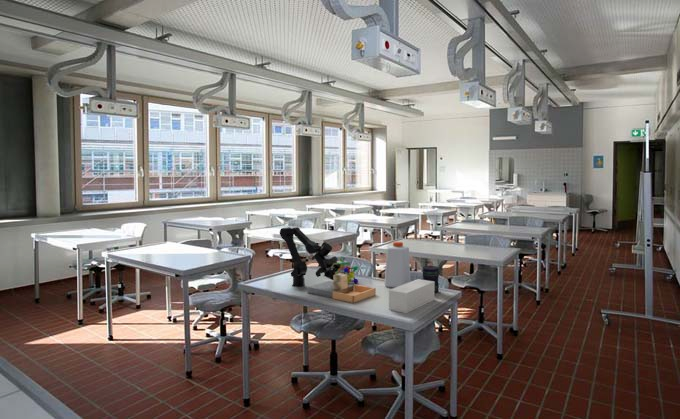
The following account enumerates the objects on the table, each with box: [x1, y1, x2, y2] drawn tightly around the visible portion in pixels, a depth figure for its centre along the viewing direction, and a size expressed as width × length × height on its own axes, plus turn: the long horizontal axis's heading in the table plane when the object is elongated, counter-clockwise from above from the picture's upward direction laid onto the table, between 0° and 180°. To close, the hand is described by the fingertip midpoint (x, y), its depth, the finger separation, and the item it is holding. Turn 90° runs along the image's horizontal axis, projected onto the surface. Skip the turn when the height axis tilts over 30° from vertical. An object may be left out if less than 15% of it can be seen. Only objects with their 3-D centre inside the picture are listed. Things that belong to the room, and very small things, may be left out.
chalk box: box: [333, 256, 351, 279], centre depth 320 cm, size 9×9×15 cm
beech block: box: [332, 273, 348, 290], centre depth 279 cm, size 6×6×8 cm
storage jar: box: [422, 265, 440, 295], centre depth 284 cm, size 10×10×15 cm
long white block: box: [388, 278, 435, 314], centre depth 257 cm, size 32×11×11 cm, turn 142°
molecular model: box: [342, 265, 359, 285], centre depth 304 cm, size 12×7×12 cm, turn 130°
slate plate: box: [307, 280, 355, 299], centre depth 284 cm, size 20×20×4 cm
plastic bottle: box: [384, 241, 412, 289], centre depth 298 cm, size 15×15×28 cm
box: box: [332, 284, 377, 304], centre depth 273 cm, size 15×22×4 cm
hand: (336, 281), depth 281 cm, fingers closed
